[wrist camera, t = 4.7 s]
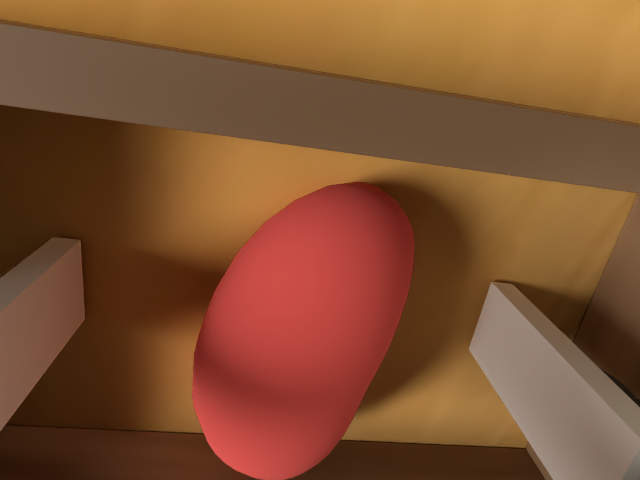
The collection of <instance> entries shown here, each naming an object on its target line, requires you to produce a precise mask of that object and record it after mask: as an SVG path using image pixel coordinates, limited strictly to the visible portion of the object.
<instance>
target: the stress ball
mask: <svg viewBox="0 0 640 480" xmlns="http://www.w3.org/2000/svg"><path fill="white" fill-rule="evenodd" d="M414 240H415V238H414V232H413V229H412V226H411V223H410V221H409V219H408V217H407V216H406V214H405V213H404V211H403V210H402V208H401V207H400V205H399V204H398V203H397V202H396V201H395V200H394V199H393V198H392V197H391V196H389V195H388V194H387V193H385V192H384V191H383V190H381V189H379V188H377V187H376V186H373V185H371V184H368V183H363V182H352V183H345V184H337V185H330V186H326V187H324V188H322V189H319V190H317V191H315V192H312V193H310V194H308V195H306V196H303V197H301V198H299V199H297V200H295V201H293V202H292V203H290V204H289V205H288V206H286V207H285V208H284V209H282V210H281V211H280V212H278V213H277V214H276V215H274V216H273V217H271V218H270V219H269V220H267V221H266V222H265V223H264V224H263V225H262V226H261V227H260V228H259V229H258V231H257V232H256V233H255V234H254V235H253V236H252V237H251V238H250V239H249V241H248V242H247V243H246V244H245V245H244V246H243V247H242V248H241V249H240V250H239V252H238V253H237V254H236V256H235V258H234V259H233V261H232V263H231V264H230V266H229V268H228V269H227V271H226V273H225V274H224V276H223V278H222V279H221V281H220V283H219V284H218V286H217V288H216V290H215V292H214V294H213V296H212V299H211V301H210V304H209V306H208V309H207V311H206V314H205V317H204V320H203V323H202V327H201V330H200V333H199V336H198V340H197V344H196V348H195V352H194V367H193V391H192V398H193V404H194V409H195V412H196V414H197V417H198V420H199V422H200V425H201V427H202V430H203V432H204V435H205V437H206V440H207V442H208V443H209V445H210V447H211V448H212V450H213V451H214V453H215V454H216V455H217V456H218V457H219V458H220V459H221V460H222V461H223V462H224V463H225V464H227V465H228V466H230V467H231V468H233V469H234V470H236V471H238V472H241V473H243V474H246V475H248V476H251V477H253V478H256V479H261V480H285V479H289V478H293V477H296V476H298V475H300V474H303V473H305V472H306V471H308V470H309V469H311V468H312V467H314V466H315V465H317V464H319V463H320V462H321V461H322V460H323V459H324V458H325V457H326V456H328V455H329V454H330V452H331V451H332V450H333V448H334V447H335V446H336V445H337V443H338V442H339V441H340V439H341V438H342V437H343V435H344V434H345V432H346V430H347V428H348V427H349V425H350V423H351V421H352V419H353V417H354V415H355V413H356V411H357V409H358V408H359V405H360V403H361V401H362V399H363V397H364V395H365V393H366V391H367V389H368V387H369V385H370V383H371V381H372V380H373V378H374V376H375V374H376V372H377V370H378V368H379V366H380V364H381V362H382V361H383V359H384V357H385V355H386V353H387V351H388V349H389V346H390V344H391V341H392V339H393V336H394V334H395V331H396V329H397V326H398V324H399V321H400V318H401V315H402V312H403V309H404V306H405V303H406V300H407V297H408V293H409V288H410V283H411V278H412V272H413V267H414Z"/></svg>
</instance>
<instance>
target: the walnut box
mask: <svg viewBox="0 0 640 480" xmlns="http://www.w3.org/2000/svg"><path fill="white" fill-rule="evenodd" d="M0 105H6V106H14V107H21V108H28V109H35V110H42V111H50V112H57V113H64V114H71V115H79V116H86V117H93V118H100V119H107V120H115V121H122V122H129V123H136V124H143V125H151V126H158V127H165V128H172V129H179V130H187V131H194V132H201V133H208V134H216V135H223V136H230V137H237V138H244V139H252V140H259V141H266V142H273V143H280V144H288V145H295V146H302V147H309V148H316V149H324V150H331V151H338V152H345V153H353V154H360V155H367V156H374V157H381V158H389V159H396V160H403V161H410V162H417V163H425V164H432V165H439V166H446V167H453V168H461V169H468V170H475V171H482V172H490V173H497V174H504V175H511V176H518V177H526V178H533V179H540V180H547V181H554V182H562V183H569V184H576V185H583V186H590V187H598V188H605V189H612V190H619V191H627V192H634V193H638V195H637V197H636V199H635V202H634V204H633V206H632V209H631V211H630V213H629V215H628V218H627V220H626V222H625V225H624V227H623V229H622V231H621V234H620V236H619V238H618V240H617V243H616V245H615V247H614V250H613V252H612V254H611V256H610V259H609V261H608V263H607V266H606V268H605V270H604V272H603V275H602V277H601V279H600V282H599V284H598V286H597V288H596V291H595V293H594V295H593V297H592V300H591V302H590V304H589V307H588V309H587V311H586V313H585V316H584V318H583V320H582V323H581V325H580V327H579V329H578V332H577V334H576V336H575V338H574V341H573V343H574V344H575V345H576V346H577V347H578V348H579V349H580V350H581V351H582V352H583V353H584V354H585V355H586V356H587V357H588V358H589V359H590V360H591V361H592V362H593V363H594V364H595V365H597V366H598V367H599V368H601V369H602V370H604V371H605V372H607V373H608V374H610V375H611V376H613V377H614V378H616V379H618V380H619V381H620V382H621V383H622V384H623V385H625V386H626V387H627V388H628V389H629V390H630V391H631V392H632V393H633V394H634V395H635V398H637V399H639V400H640V124H637V123H630V122H624V121H618V120H612V119H606V118H600V117H594V116H588V115H582V114H575V113H569V112H563V111H557V110H551V109H545V108H539V107H533V106H526V105H520V104H514V103H508V102H502V101H496V100H490V99H484V98H478V97H471V96H465V95H459V94H453V93H447V92H441V91H435V90H429V89H422V88H416V87H410V86H404V85H398V84H392V83H386V82H380V81H373V80H367V79H361V78H355V77H349V76H343V75H337V74H331V73H325V72H318V71H312V70H306V69H300V68H294V67H288V66H282V65H276V64H269V63H263V62H257V61H251V60H245V59H239V58H233V57H227V56H221V55H214V54H208V53H202V52H196V51H190V50H184V49H178V48H172V47H165V46H159V45H153V44H147V43H141V42H135V41H129V40H123V39H117V38H110V37H104V36H98V35H92V34H86V33H80V32H74V31H68V30H61V29H55V28H49V27H43V26H37V25H31V24H25V23H19V22H12V21H6V20H0ZM0 480H261V479H256V478H253V477H251V476H248V475H246V474H243V473H241V472H238V471H236V470H234V469H233V468H231V467H230V466H228V465H227V464H225V463H224V462H223V461H222V460H221V459H220V458H219V457H218V456H217V455H216V454H215V453H214V451H213V450H212V448H211V447H210V445H209V443H208V442H207V440H206V437H205V435H204V434H187V433H165V432H144V431H122V430H100V429H78V428H56V427H34V426H12V425H5V426H4V427H3V429H2V430H1V431H0ZM285 480H553V479H552V477H551V476H550V474H549V473H548V471H547V469H546V468H545V466H544V465H543V463H542V462H541V460H540V459H539V457H538V456H537V454H536V452H535V451H534V449H533V448H532V446H531V445H530V443H528V446H527V448H526V449H517V448H495V447H473V446H451V445H429V444H407V443H385V442H363V441H341V440H340V441H339V442H338V443H337V445H336V446H335V447H334V448H333V450H332V451H331V452H330V454H329V455H328V456H326V457H325V458H324V459H323V460H322V461H321V462H320V463H319V464H317V465H315V466H314V467H312V468H311V469H309V470H308V471H306V472H305V473H303V474H300V475H298V476H296V477H293V478H289V479H285Z"/></svg>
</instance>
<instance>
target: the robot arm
mask: <svg viewBox="0 0 640 480" xmlns="http://www.w3.org/2000/svg"><path fill="white" fill-rule="evenodd" d="M84 320H85V307H84V290H83V273H82V255H81V240H77V239H67V238H57V237H52V238H51V239H50V240H49V241H47V242H46V243H45V244H43V245H42V246H41V247H40V248H38V249H37V250H36V251H34V252H33V253H32V254H31V255H29V256H28V257H27V258H26V259H24V260H23V261H22V262H20V263H19V264H18V265H17V266H15V267H14V268H13V269H11V270H10V271H9V272H8V273H6V274H5V275H4V276H2V277H1V278H0V431H1V430H2V429H3V427H4V426H5V425H6V423H7V422H8V421H9V419H10V418H11V417H12V415H13V414H14V413H15V411H16V410H17V409H18V407H19V406H20V405H21V403H22V402H23V401H24V399H25V398H26V397H27V395H28V394H29V393H30V391H31V390H32V389H33V387H34V386H35V385H36V383H37V382H38V381H39V379H40V378H41V377H42V376H43V374H44V373H45V372H46V370H47V369H48V368H49V366H50V365H51V364H52V362H53V361H54V360H55V358H56V357H57V356H58V354H59V353H60V352H61V350H62V349H63V348H64V346H65V345H66V344H67V342H68V341H69V340H70V338H71V337H72V336H73V334H74V333H75V332H76V330H77V329H78V328H79V326H80V325H81V324H82V322H83V321H84ZM469 351H470V352H471V354H472V355H473V357H474V358H475V360H476V361H477V363H478V364H479V366H480V368H481V369H482V371H483V372H484V374H485V375H486V377H487V378H488V380H489V381H490V383H491V385H492V386H493V388H494V389H495V391H496V392H497V394H498V395H499V397H500V398H501V400H502V402H503V403H504V405H505V406H506V408H507V409H508V411H509V412H510V414H511V415H512V417H513V419H514V420H515V422H516V423H517V425H518V426H519V428H520V429H521V431H522V432H523V434H524V436H525V437H526V439H527V440H528V442H529V443H530V445H531V446H532V448H533V449H534V451H535V452H536V454H537V456H538V457H539V459H540V460H541V462H542V463H543V465H544V466H545V468H546V469H547V471H548V473H549V474H550V476H551V477H552V479H553V480H640V400H639V399H637V398H635V395H634V394H633V393H632V392H631V391H630V390H629V389H628V388H627V387H626V386H625V385H623V384H622V383H621V382H620V381H619V380H618V379H616V378H614V377H613V376H611V375H610V374H608V373H607V372H605V371H604V370H602V369H601V368H599V367H598V366H597V365H595V364H594V363H593V362H592V361H591V360H590V359H589V358H588V357H587V356H586V355H585V354H584V353H583V352H582V351H581V350H580V349H579V348H578V347H577V346H576V345H575V344H574V343H573V342H572V341H571V340H570V339H569V338H568V337H567V336H566V335H565V334H563V333H562V332H561V331H560V330H559V329H558V328H557V327H556V326H555V325H554V324H553V323H552V322H551V321H550V320H549V319H548V318H547V317H546V316H545V315H544V314H543V313H542V312H541V311H540V310H539V309H538V308H537V307H536V306H535V305H534V304H533V303H532V302H530V301H529V300H528V299H527V298H526V297H525V296H524V295H523V294H522V293H521V292H520V291H519V290H518V289H517V288H516V287H515V286H514V285H513V284H508V283H498V282H491V284H490V287H489V290H488V293H487V296H486V299H485V302H484V305H483V308H482V311H481V314H480V317H479V320H478V323H477V326H476V329H475V332H474V335H473V338H472V341H471V344H470V347H469Z"/></svg>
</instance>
